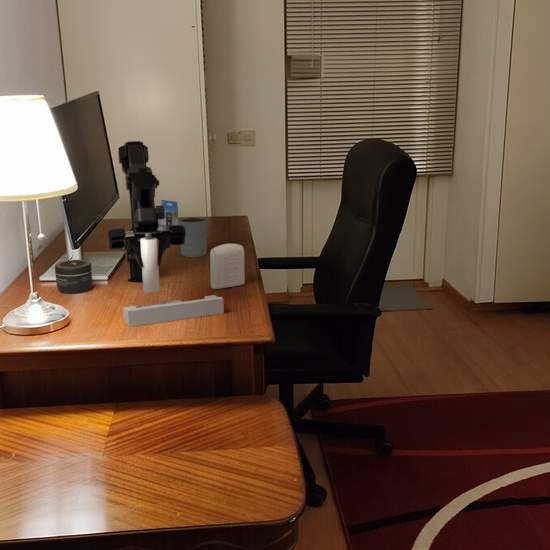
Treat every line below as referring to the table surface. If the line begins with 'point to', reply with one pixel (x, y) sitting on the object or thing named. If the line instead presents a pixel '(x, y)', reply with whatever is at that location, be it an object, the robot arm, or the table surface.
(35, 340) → the table surface
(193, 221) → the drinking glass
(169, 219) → the label tape box
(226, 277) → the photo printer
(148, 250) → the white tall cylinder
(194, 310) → the cable duct
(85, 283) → the jar
